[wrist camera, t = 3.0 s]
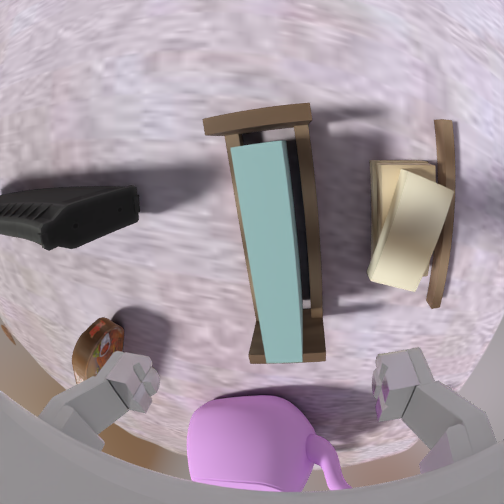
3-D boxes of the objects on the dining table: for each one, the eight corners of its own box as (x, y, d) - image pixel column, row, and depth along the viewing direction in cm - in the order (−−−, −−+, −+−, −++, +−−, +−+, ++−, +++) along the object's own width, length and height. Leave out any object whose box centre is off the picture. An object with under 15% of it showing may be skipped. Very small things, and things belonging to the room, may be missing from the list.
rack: (227, 124, 19) (202, 119, 14) (442, 115, 16) (483, 112, 10) (259, 319, 26) (250, 363, 21) (433, 303, 22) (456, 340, 17)
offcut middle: (375, 162, 18) (381, 164, 17) (427, 163, 17) (435, 165, 16) (375, 272, 22) (379, 280, 20) (421, 267, 21) (427, 276, 19)
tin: (120, 377, 35) (96, 415, 28) (104, 367, 35) (78, 404, 28) (127, 313, 29) (89, 360, 21) (106, 301, 29) (65, 343, 21)
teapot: (242, 453, 40) (226, 519, 26) (181, 390, 33) (143, 478, 20) (366, 438, 34) (370, 514, 20) (350, 364, 27) (363, 487, 13)
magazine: (103, 210, 14) (-85, 237, 9) (111, 261, 15) (-79, 263, 11) (157, 171, 29) (-12, 196, 25) (158, 198, 31) (-9, 215, 26)
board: (253, 144, 20) (230, 147, 13) (285, 140, 19) (281, 140, 12) (275, 301, 25) (266, 363, 18) (302, 299, 25) (302, 362, 17)
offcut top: (400, 168, 16) (408, 171, 15) (444, 187, 16) (454, 191, 15) (366, 271, 20) (370, 281, 19) (409, 282, 20) (414, 291, 18)
